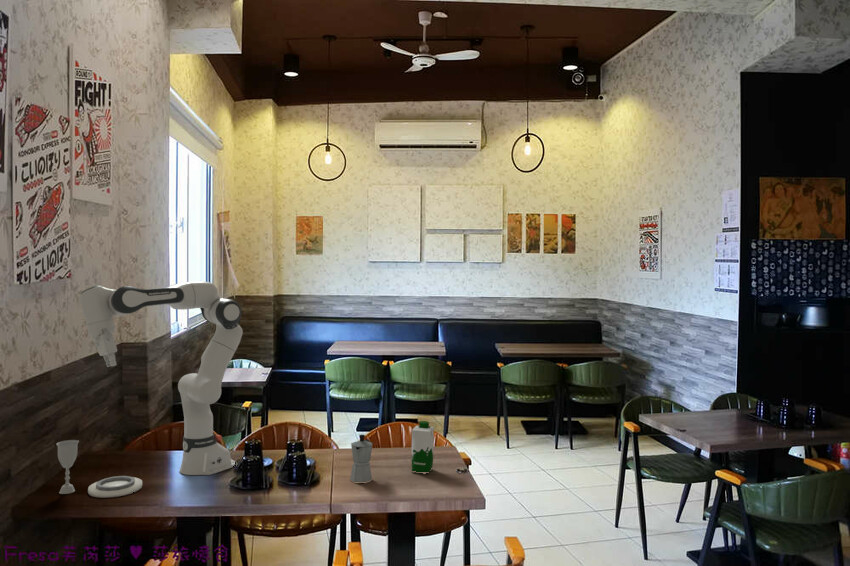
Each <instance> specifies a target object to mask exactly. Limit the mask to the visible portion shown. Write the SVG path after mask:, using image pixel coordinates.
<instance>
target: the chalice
mask: <svg viewBox="0 0 850 566" xmlns="http://www.w3.org/2000/svg"><path fill="white" fill-rule="evenodd" d="M79 443H80V440H77V439H68V440H62V441H58V442H57V443H56V447H57V458H58V461H59V464H60V465H61V466H62V468H63V469H65V472H64V474H65V477H64V480H65V483H64V484H63V485H62V486H61V488H60V490H59V492H58V493H59V494H61V495H67V494H72V493H74V492H75V491H76V490H75V487H74V485H73V484H72V483H70V479H71V477H70V474H71V472H70V468H71V467H73V465H74V463H75V461H76V459H77V458H78V457H77V456H78V444H79Z"/></svg>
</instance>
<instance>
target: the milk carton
mask: <svg viewBox="0 0 850 566" xmlns="http://www.w3.org/2000/svg"><path fill="white" fill-rule="evenodd" d="M429 423H430V422H429V421H428V420H426V421H425V420H420V421H419V423H418V424H419V425H415V426H414V427H413V428H412V430H411V472H412V471H416V472H429V471H430V470H431V468H432V469H433V465H434V444H435V443H434V440H435V439H434V438H435V437H434V433H435V432H434V429H435V427H434V426H431V425H429ZM431 471H432V470H431ZM431 471H430V472H431Z"/></svg>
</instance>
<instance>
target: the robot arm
mask: <svg viewBox="0 0 850 566" xmlns="http://www.w3.org/2000/svg"><path fill="white" fill-rule="evenodd" d="M79 302H80V306H81V307H80V309H81V311H82V314H83V316H84V318H85V325H86V329H87V333H88V336H89V338H91V339H92V340H93V342H94V345H95V347H96V350H97V353H98V354H99V356H100V357H102V358H103V359H104V362H105V365H106V367H108V368H109V367H115V366H117V361H116V354H115V353H117V352H118V348H117V344H116V341H115V337H114V332H116V331H117V329H116V326H115V322H114V319H113V317H123V316H126V315H129V314H133V313H135V312H138V311H139V310H140V309H143V308H145V307H152V306H162V305H164V306H165V305H168V306H170V308H172V309H174V310H181V311H182V310H183V311H185V310H193V309H199V310H200V312H201V315H202V317H203V319H204V320H205V321H206V322H208V323H211V324H214V325H215V332H214V333H213V334H214V335H213V336H212V337H211V339H210V341H209V343H208V345H207V346H206V348H205V350H204V351H203V353H202V355H201V357H200V360H201V361H200V362H201V363H200V366H199V369H198V372H197V373H196V372H195V373H194V372H192V373H187V374H185V375H183V376H182V377H180V379H179V381H178V383H177V389H178V392H179V394H180V400H181V406H182V412H183V417H184V418H183V421H184V423H183V424H184V425H183V427H184V428H183V430H184V431H183V432H184V433H183V434H184V435H183V437H182V451H183V453H182V458H181V459H182V460H181V464H180V467H179V473H180V474H182V475H186V476H201V475H202V476H211V475H214V474H217V473H220V472H222V471H226V470H228V469H231V468H234V467H235V466H234V464H235V462H236V461H235V460H233V459H232V455H231V453H230V451H229V449H228V448H226V447H224V446H223V445H222V444H220V443H219V442H218V441H221V440H222V438H223V437H222V436H223V435H220V434H214V415H213V412H212V410H211V406H210V405H212V404H215V403H216V402H218V400H219V399H220V398H221V395H222V383H223V379H224V377H225V373H226V370H227V367H229V364H230V362H231V360H232V358H233V357H234V355H235V352H236V351H237V350H238V346H239V345H240V343H241V341H242V337H243V332H244V329H243V328H242V327H241V325H240V324H241V317H242V307H241V305H240V304H239V303H238V302H237V301H235V300H233V299H231V298H224V297H220V295H219V293H218V288H217V287H216V285H215V283H212V282H211V281H202V280H200V281H199V280H198V281H186V282H184V281H183V282H178V283H175V284H171V285H170V286H168V287H160V288H147V289H146V288H145V289H144V288H139V287H135V286H132V285H124V286H121V287H119V288H117V289H112V288H107V287H104V286H102V285H100V284H99V285H94V286H91V287H88V288H86V289H84V290H83V291H82V292H81V293H80V294H79ZM233 466H234V467H233Z"/></svg>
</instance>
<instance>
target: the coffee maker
mask: <svg viewBox="0 0 850 566" xmlns="http://www.w3.org/2000/svg"><path fill="white" fill-rule="evenodd" d="M358 437H359V440H357V441H354V442H351V444H350V445H351V447H350V448H351V455H352V461H353V463H352V465H351V466H352V467H351V473H350V478H349V479H350V480H352V481H353V482H367V481H370V480H371V479H372V480H373V477H372V469H371V463H370V461H371V457H372V450H373V442H372V441H370V439H367V438H366V439H365V437H366V434H359V436H358ZM350 480H349V481H350ZM372 480H371V481H372ZM353 482H352V483H353Z"/></svg>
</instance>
